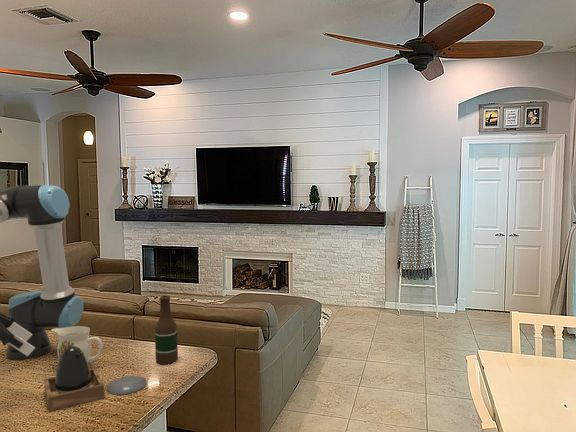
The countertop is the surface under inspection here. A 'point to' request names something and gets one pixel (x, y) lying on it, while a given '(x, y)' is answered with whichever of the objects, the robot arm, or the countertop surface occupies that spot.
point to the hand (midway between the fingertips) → (30, 344)
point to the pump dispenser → (72, 371)
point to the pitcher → (77, 340)
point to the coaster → (126, 385)
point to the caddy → (74, 393)
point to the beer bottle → (166, 335)
